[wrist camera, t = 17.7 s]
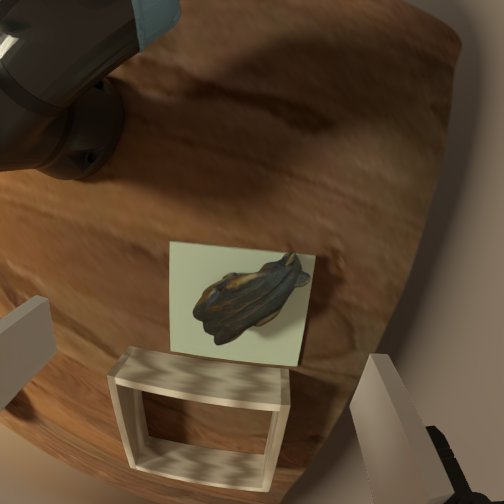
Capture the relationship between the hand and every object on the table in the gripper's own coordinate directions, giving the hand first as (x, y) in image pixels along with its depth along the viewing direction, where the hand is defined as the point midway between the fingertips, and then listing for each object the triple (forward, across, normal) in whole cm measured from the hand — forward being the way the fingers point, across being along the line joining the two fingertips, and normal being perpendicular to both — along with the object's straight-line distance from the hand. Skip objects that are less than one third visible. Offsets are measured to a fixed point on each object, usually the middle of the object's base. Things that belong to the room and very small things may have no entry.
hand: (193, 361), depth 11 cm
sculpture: (+28, +2, -11) cm, 30 cm away
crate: (+27, -3, -31) cm, 42 cm away
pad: (+28, 0, -11) cm, 30 cm away
